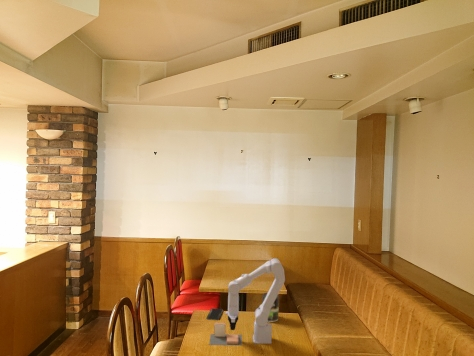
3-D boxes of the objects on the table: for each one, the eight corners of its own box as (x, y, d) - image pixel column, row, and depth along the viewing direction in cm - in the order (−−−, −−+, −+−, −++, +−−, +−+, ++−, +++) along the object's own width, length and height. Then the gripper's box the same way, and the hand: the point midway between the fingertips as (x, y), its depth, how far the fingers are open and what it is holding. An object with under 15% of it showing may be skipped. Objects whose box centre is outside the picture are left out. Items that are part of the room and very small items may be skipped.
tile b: (225, 335, 181) (225, 323, 181) (225, 336, 180) (225, 324, 179) (214, 335, 181) (214, 322, 181) (214, 336, 179) (214, 324, 179)
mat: (241, 335, 182) (241, 334, 182) (242, 346, 171) (242, 345, 171) (210, 334, 182) (210, 334, 182) (209, 345, 171) (209, 344, 171)
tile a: (238, 334, 180) (238, 341, 173) (238, 337, 180) (238, 344, 173) (227, 334, 180) (226, 341, 173) (227, 337, 180) (226, 343, 173)
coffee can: (277, 323, 198) (277, 299, 197) (260, 320, 201) (260, 297, 200) (279, 316, 208) (280, 293, 207) (263, 313, 211) (264, 291, 210)
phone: (206, 318, 200) (211, 308, 215) (206, 320, 200) (211, 309, 215) (219, 319, 199) (223, 309, 214) (218, 321, 199) (223, 310, 214)
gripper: (226, 298, 184) (225, 323, 185) (225, 310, 170) (224, 336, 170) (238, 299, 185) (238, 323, 185) (239, 310, 170) (238, 336, 170)
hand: (232, 329), depth 178 cm, fingers closed
